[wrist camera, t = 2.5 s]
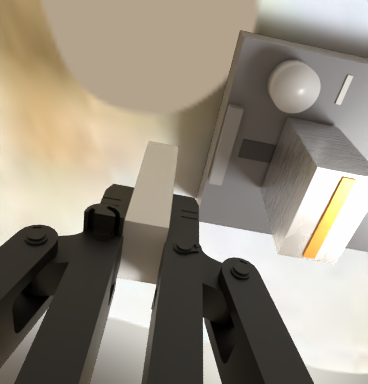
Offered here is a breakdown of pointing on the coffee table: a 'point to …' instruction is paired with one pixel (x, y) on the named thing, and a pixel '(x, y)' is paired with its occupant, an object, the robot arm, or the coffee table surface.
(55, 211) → the coffee table surface
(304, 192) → the fader
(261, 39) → the console
